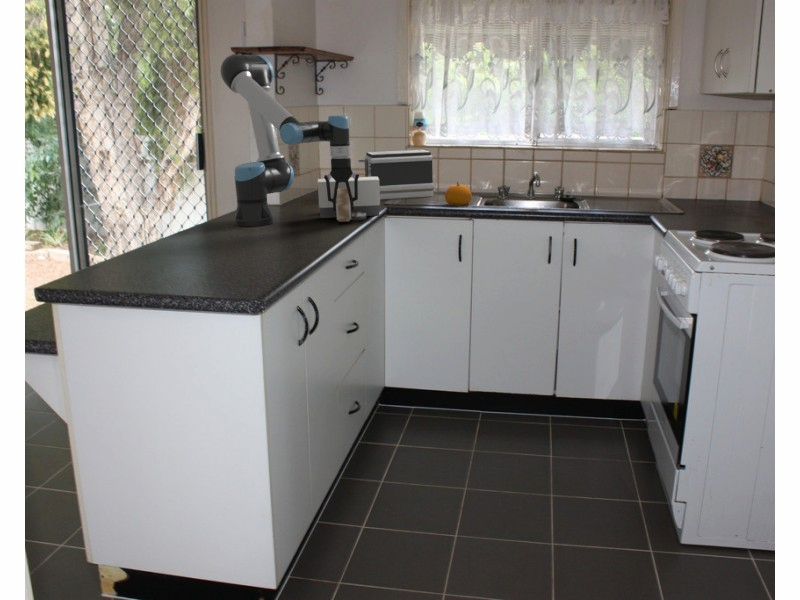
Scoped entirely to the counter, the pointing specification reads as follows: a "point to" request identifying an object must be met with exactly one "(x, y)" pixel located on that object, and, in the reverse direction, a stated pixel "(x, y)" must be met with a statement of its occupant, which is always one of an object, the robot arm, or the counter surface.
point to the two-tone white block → (365, 201)
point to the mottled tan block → (343, 205)
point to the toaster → (401, 173)
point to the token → (358, 215)
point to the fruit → (458, 195)
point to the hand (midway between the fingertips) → (344, 218)
